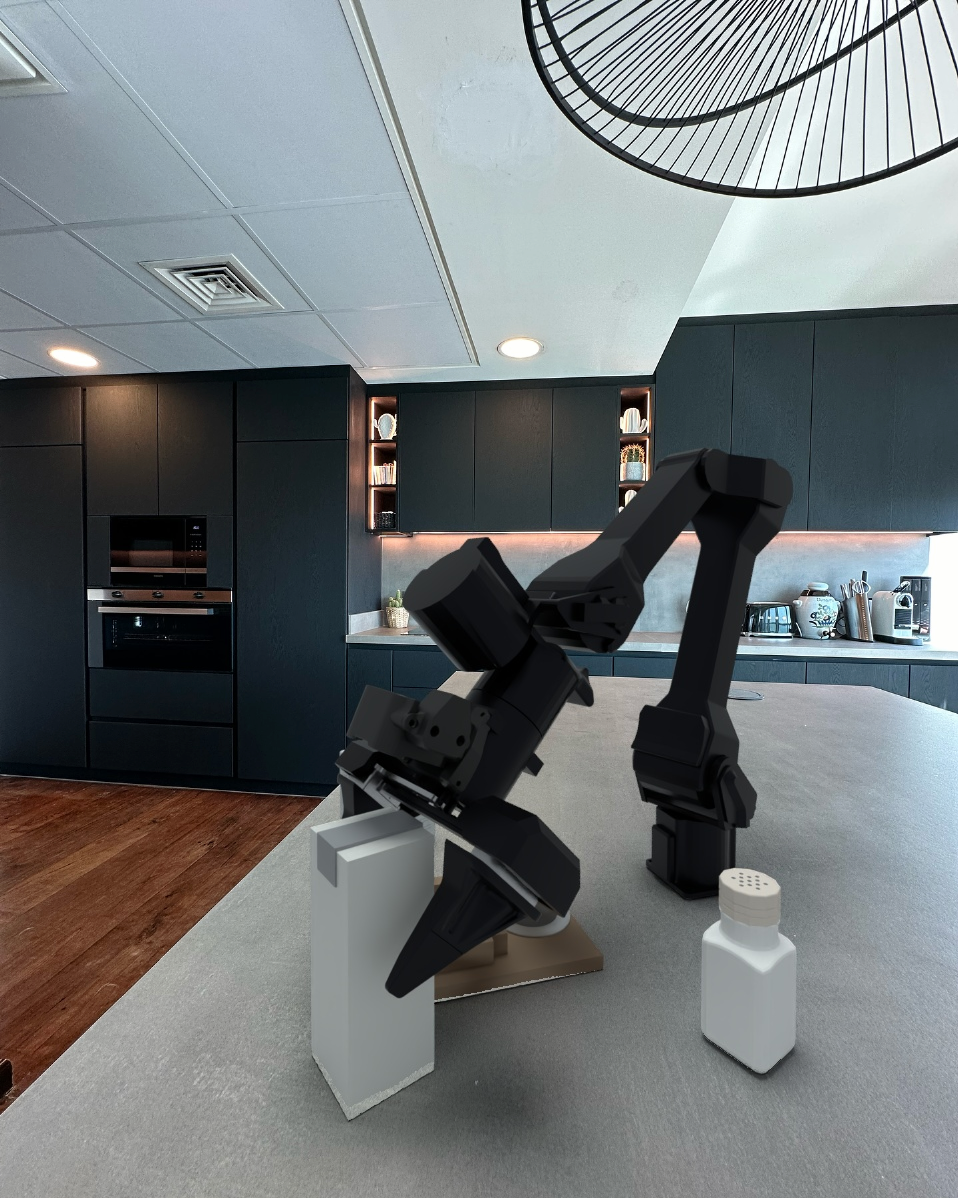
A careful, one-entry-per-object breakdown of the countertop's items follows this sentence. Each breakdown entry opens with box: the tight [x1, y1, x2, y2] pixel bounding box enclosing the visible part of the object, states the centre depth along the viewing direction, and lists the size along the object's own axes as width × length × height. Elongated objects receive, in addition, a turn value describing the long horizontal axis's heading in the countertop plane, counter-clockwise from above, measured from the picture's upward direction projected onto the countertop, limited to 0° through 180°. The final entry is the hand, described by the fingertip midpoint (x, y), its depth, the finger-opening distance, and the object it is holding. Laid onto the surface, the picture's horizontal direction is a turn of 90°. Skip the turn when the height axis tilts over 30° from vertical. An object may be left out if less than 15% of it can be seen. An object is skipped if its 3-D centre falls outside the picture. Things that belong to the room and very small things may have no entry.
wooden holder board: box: [434, 875, 604, 1000], centre depth 43 cm, size 16×12×4 cm
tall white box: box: [309, 807, 435, 1107], centre depth 32 cm, size 5×5×13 cm
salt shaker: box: [700, 867, 798, 1072], centre depth 33 cm, size 4×4×10 cm
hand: (349, 946), depth 31 cm, fingers open, 9 cm apart
